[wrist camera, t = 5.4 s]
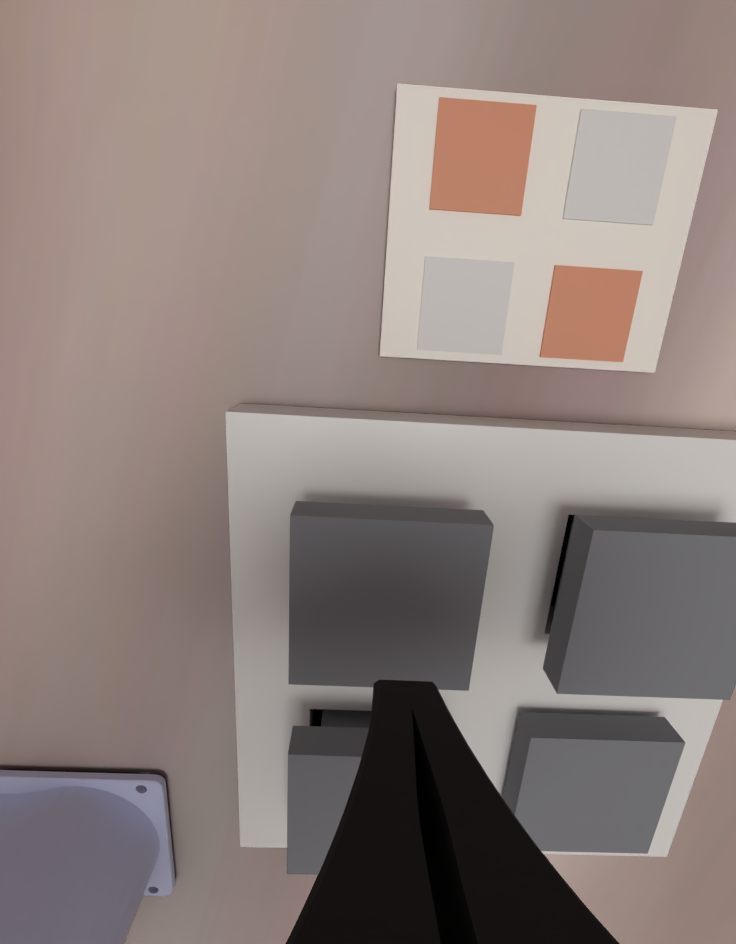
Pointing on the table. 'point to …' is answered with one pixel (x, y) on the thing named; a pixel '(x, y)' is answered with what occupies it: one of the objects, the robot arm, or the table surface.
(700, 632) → the button
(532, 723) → the button
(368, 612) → the button
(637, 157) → the pattern card
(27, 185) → the table surface
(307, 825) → the button
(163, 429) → the table surface
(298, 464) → the button board
